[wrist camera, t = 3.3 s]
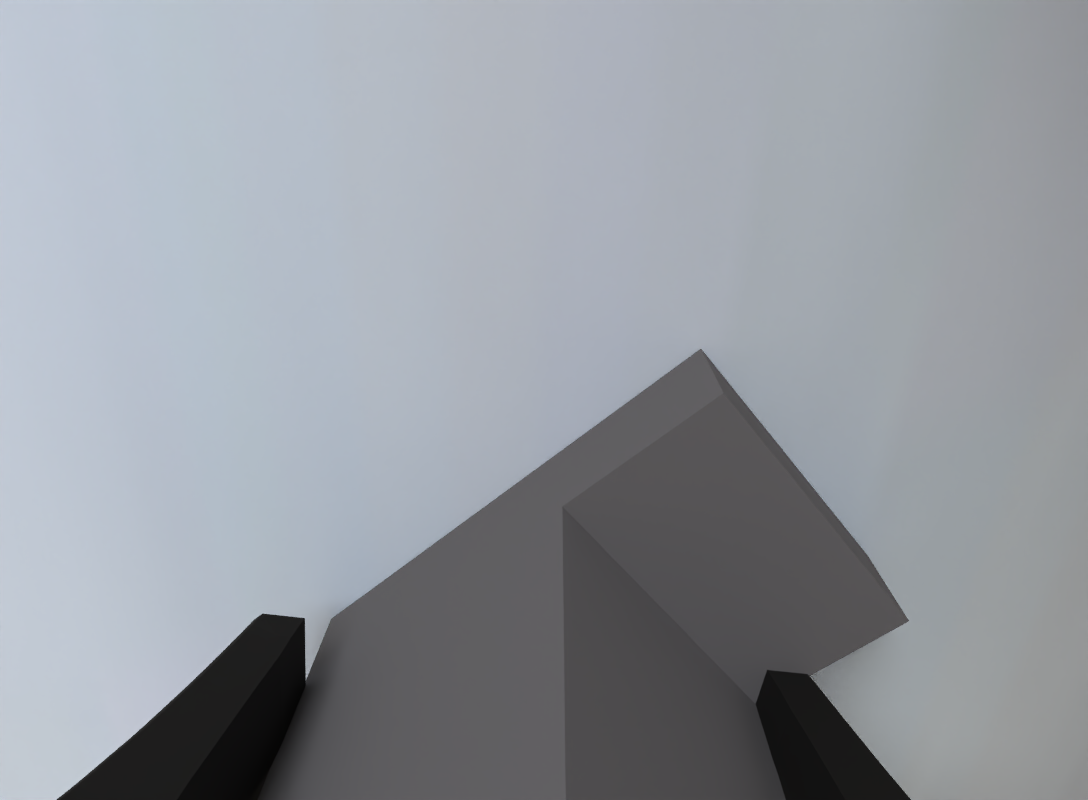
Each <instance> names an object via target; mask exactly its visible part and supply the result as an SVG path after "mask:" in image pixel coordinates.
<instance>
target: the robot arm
mask: <svg viewBox="0 0 1088 800" xmlns="http://www.w3.org/2000/svg"><path fill="white" fill-rule="evenodd" d="M305 686H306V677H305V618H297V617H288V616H279V615H270V614H262V615H260V616H259V617H257V618H256V619H255V620H254V621H253V622H252V623H251V624H250V625H249V626H248V627H247V628H246V629H245V630H244V631H243V632H242V633H241V634H240V635H239V636H238V637H237V638H236V639H235V640H234V641H233V642H232V643H231V644H230V645H229V646H228V647H227V648H226V649H225V650H224V651H223V652H222V653H221V654H220V655H219V656H218V657H217V658H216V659H215V660H214V661H213V662H212V663H211V664H210V665H209V666H208V667H207V668H206V669H205V670H204V671H203V672H202V673H200V674H199V675H198V676H197V677H196V678H195V679H194V680H193V681H192V682H191V683H190V684H189V685H188V686H187V687H186V688H185V689H184V690H183V691H182V692H181V693H179V694H178V695H177V696H176V697H175V698H174V699H173V700H172V701H171V702H170V703H169V704H168V705H166V706H165V707H164V708H163V709H162V710H161V711H160V712H159V713H158V714H157V715H156V716H155V717H153V718H152V719H151V720H150V721H149V722H148V723H147V724H146V725H145V726H144V727H143V728H141V729H140V730H139V731H138V732H137V733H136V734H135V735H133V736H132V737H131V738H130V739H129V740H128V741H127V742H125V743H124V744H123V745H122V746H121V747H119V748H118V749H117V750H116V751H115V752H114V753H112V754H111V755H110V756H109V757H108V758H106V759H105V760H104V761H103V762H102V763H101V764H99V765H98V766H97V767H96V768H95V769H93V770H92V771H91V772H90V773H89V774H88V775H86V776H85V777H84V778H83V779H82V780H81V781H79V782H78V783H77V784H76V785H74V786H73V787H72V788H71V789H70V790H68V791H67V792H66V793H64V794H63V795H62V796H61V797H59V798H58V799H57V800H258V797H259V795H260V792H261V790H262V787H263V785H264V782H265V780H266V778H267V775H268V773H269V770H270V768H271V766H272V763H273V761H274V759H275V757H276V755H277V753H278V751H279V749H280V747H281V744H282V742H283V740H284V737H285V735H286V733H287V730H288V728H289V725H290V723H291V720H292V718H293V715H294V713H295V710H296V708H297V705H298V703H299V701H300V698H301V696H302V693H303V691H304V688H305ZM756 707H757V710H758V714H759V717H760V720H761V723H762V727H763V730H764V733H765V736H766V739H767V743H768V746H769V749H770V752H771V755H772V759H773V762H774V764H775V767H776V770H777V773H778V776H779V779H780V782H781V786H782V789H783V792H784V795H785V799H786V800H911V799H910V798H909V797H908V796H907V795H906V793H905V792H904V791H903V790H902V789H901V787H900V786H899V785H898V784H897V783H896V782H895V780H894V779H893V778H892V777H891V776H890V774H889V773H888V772H887V771H886V770H885V768H884V767H883V766H882V765H881V764H880V762H879V761H878V760H877V759H876V758H875V756H874V755H873V754H872V753H871V752H870V750H869V749H868V748H867V747H866V745H865V744H864V743H863V742H862V740H861V739H860V738H859V737H858V736H857V734H856V733H855V732H854V731H853V729H852V728H851V727H850V726H849V724H848V723H847V722H846V721H845V720H844V718H843V717H842V716H841V715H840V713H839V712H838V711H837V710H836V708H835V707H834V706H833V705H832V703H831V702H830V701H829V700H828V698H827V697H826V696H825V695H824V693H823V692H822V691H821V690H820V689H819V687H818V686H817V685H816V684H815V682H814V681H813V680H812V679H811V678H810V676H809V675H808V674H802V673H793V672H783V671H773V670H767V672H766V675H765V678H764V680H763V683H762V686H761V689H760V692H759V695H758V698H757V701H756Z"/></svg>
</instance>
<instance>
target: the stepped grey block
mask: <svg viewBox="0 0 1088 800" xmlns="http://www.w3.org/2000/svg"><path fill="white" fill-rule="evenodd" d="M908 621H909V620H908V619H907V617H906V616H905V614H904V613H903V611H902V609H901V608H900V606H899V605H898V603H897V601H896V600H895V598H894V597H893V595H892V594H891V592H890V590H889V589H888V587H887V586H886V584H885V582H884V581H883V579H882V578H881V576H880V575H879V573H878V571H877V570H876V568H875V567H874V565H873V564H872V562H871V560H870V559H869V557H868V556H867V554H866V553H865V552H864V551H863V549H862V548H861V547H860V546H859V544H858V543H857V542H856V541H855V539H854V538H853V537H852V536H851V534H850V533H849V532H848V531H847V529H846V528H845V527H844V526H843V524H842V523H841V522H840V521H839V519H838V518H837V517H836V516H835V515H834V513H833V512H832V511H831V510H830V508H829V507H828V506H827V505H826V503H825V502H824V501H823V500H822V498H821V497H820V496H819V495H818V493H817V492H816V491H815V490H814V488H813V487H812V486H811V485H810V483H809V482H808V481H807V480H806V479H805V477H804V476H803V475H802V474H801V472H800V471H799V470H798V469H797V467H796V466H795V465H794V464H793V462H792V461H791V460H790V459H789V457H788V456H787V455H786V454H785V452H784V451H783V450H782V449H781V447H780V446H779V445H778V444H777V443H776V441H775V440H774V439H773V438H772V436H771V435H770V434H769V433H768V431H767V430H766V429H765V428H764V426H763V425H762V424H761V423H760V421H759V420H758V419H757V418H756V416H755V415H754V414H753V413H752V411H751V410H750V409H749V408H748V407H747V405H746V404H745V403H744V402H743V400H742V399H741V398H740V397H739V395H738V394H737V393H736V392H735V390H734V389H733V388H732V387H731V385H730V384H729V383H728V382H727V380H726V379H725V378H724V377H723V375H722V374H721V373H720V372H719V371H718V369H717V368H716V367H715V366H714V364H713V363H712V362H711V361H710V359H709V358H708V357H707V356H706V354H705V353H704V352H703V351H702V349H700V350H699V351H697V352H696V353H695V354H693V355H692V356H691V357H689V358H688V359H686V360H685V361H684V362H682V363H681V364H680V365H678V366H677V367H676V368H674V369H673V370H671V371H670V372H669V373H667V374H666V375H665V376H663V377H662V378H661V379H659V380H658V381H656V382H655V383H654V384H652V385H651V386H650V387H648V388H647V389H645V390H644V391H643V392H641V393H640V394H639V395H637V396H636V397H635V398H633V399H632V400H630V401H629V402H628V403H626V404H625V405H624V406H622V407H621V408H619V409H618V410H617V411H615V412H614V413H613V414H611V415H610V416H609V417H607V418H606V419H604V420H603V421H602V422H600V423H599V424H598V425H596V426H595V427H593V428H592V429H591V430H589V431H588V432H587V433H585V434H584V435H583V436H581V437H580V438H578V439H577V440H576V441H574V442H573V443H572V444H570V445H569V446H567V447H566V448H565V449H563V450H562V451H561V452H559V453H558V454H557V455H555V456H554V457H552V458H551V459H550V460H548V461H547V462H546V463H544V464H543V465H541V466H540V467H539V468H537V469H536V470H535V471H533V472H532V473H531V474H529V475H528V476H526V477H525V478H524V479H522V480H521V481H520V482H518V483H517V484H515V485H514V486H513V487H511V488H510V489H509V490H507V491H506V492H505V493H503V494H502V495H500V496H499V497H498V498H496V499H495V500H494V501H492V502H491V503H489V504H488V505H487V506H485V507H484V508H483V509H481V510H480V511H479V512H477V513H476V514H474V515H473V516H472V517H470V518H469V519H468V520H466V521H465V522H463V523H462V524H461V525H459V526H458V527H457V528H455V529H454V530H453V531H451V532H450V533H448V534H447V535H446V536H444V537H443V538H442V539H440V540H439V541H437V542H436V543H435V544H433V545H432V546H431V547H429V548H428V549H427V550H425V551H424V552H422V553H421V554H420V555H418V556H417V557H416V558H414V559H413V560H412V561H410V562H409V563H407V564H406V565H405V566H403V567H402V568H401V569H399V570H398V571H396V572H395V573H394V574H392V575H391V576H390V577H388V578H387V579H386V580H384V581H383V582H381V583H380V584H379V585H377V586H376V587H375V588H373V589H372V590H370V591H369V592H368V593H366V594H365V595H364V596H362V597H361V598H360V599H358V600H357V601H355V602H354V603H353V604H351V605H350V606H349V607H347V608H346V609H344V610H343V611H342V612H340V613H339V614H338V615H336V616H335V617H334V618H332V619H331V621H330V623H329V626H328V628H327V631H326V633H325V636H324V638H323V641H322V643H321V645H320V648H319V650H318V653H317V655H316V658H315V660H314V663H313V665H312V667H311V670H310V672H309V675H308V677H307V680H306V686H305V688H304V691H303V693H302V696H301V698H300V701H299V703H298V705H297V708H296V710H295V713H294V715H293V718H292V720H291V723H290V725H289V728H288V730H287V733H286V735H285V737H284V740H283V742H282V744H281V747H280V749H279V751H278V753H277V755H276V757H275V759H274V761H273V763H272V766H271V768H270V770H269V773H268V775H267V778H266V780H265V782H264V785H263V787H262V790H261V792H260V795H259V797H258V800H786V799H785V795H784V792H783V789H782V786H781V782H780V779H779V776H778V773H777V770H776V767H775V764H774V762H773V759H772V755H771V752H770V749H769V746H768V743H767V739H766V736H765V733H764V730H763V727H762V723H761V720H760V717H759V714H758V710H757V707H756V701H757V698H758V695H759V692H760V689H761V686H762V683H763V680H764V678H765V675H766V672H767V670H773V671H783V672H793V673H802V674H808V675H809V676H810V675H812V674H814V673H815V672H817V671H819V670H821V669H823V668H824V667H826V666H828V665H830V664H832V663H834V662H835V661H837V660H839V659H841V658H843V657H844V656H846V655H848V654H850V653H852V652H854V651H855V650H857V649H859V648H861V647H863V646H864V645H866V644H868V643H870V642H872V641H874V640H875V639H877V638H879V637H881V636H883V635H884V634H886V633H888V632H890V631H892V630H894V629H895V628H897V627H899V626H901V625H903V624H904V623H906V622H908Z"/></svg>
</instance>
